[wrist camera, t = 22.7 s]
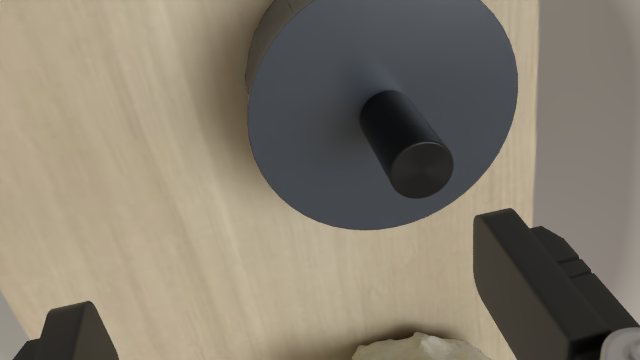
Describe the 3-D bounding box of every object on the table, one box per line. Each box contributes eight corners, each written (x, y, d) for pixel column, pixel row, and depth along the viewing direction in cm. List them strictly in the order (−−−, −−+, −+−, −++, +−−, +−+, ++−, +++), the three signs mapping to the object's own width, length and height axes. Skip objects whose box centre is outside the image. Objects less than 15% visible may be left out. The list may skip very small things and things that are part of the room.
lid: (218, -4, 28) (223, 41, 22) (515, -56, 29) (597, -27, 23) (272, 242, 36) (286, 325, 30) (504, 193, 37) (564, 263, 31)
